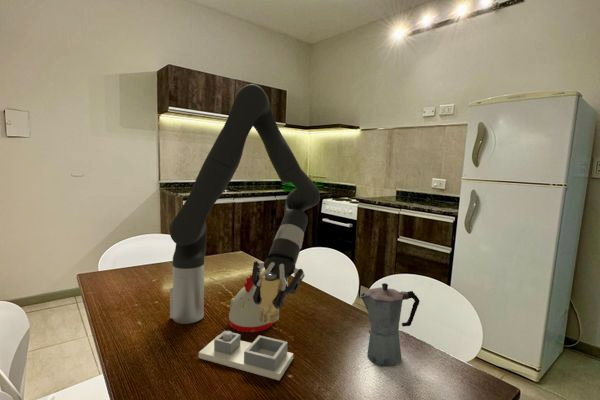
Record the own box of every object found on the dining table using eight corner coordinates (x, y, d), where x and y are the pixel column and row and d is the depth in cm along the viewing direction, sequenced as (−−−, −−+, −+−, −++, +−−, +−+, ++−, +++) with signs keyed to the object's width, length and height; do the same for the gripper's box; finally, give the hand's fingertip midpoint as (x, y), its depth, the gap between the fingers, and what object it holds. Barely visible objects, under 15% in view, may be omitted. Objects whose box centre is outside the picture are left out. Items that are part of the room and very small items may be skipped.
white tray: (198, 357, 82) (198, 337, 81) (218, 340, 91) (219, 321, 90) (279, 380, 75) (280, 358, 74) (293, 358, 83) (293, 338, 83)
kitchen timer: (219, 326, 98) (220, 278, 97) (243, 307, 111) (244, 265, 109) (260, 336, 93) (262, 286, 92) (280, 316, 106) (282, 271, 104)
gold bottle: (255, 320, 79) (257, 275, 77) (264, 312, 83) (265, 269, 82) (273, 324, 77) (276, 279, 76) (281, 316, 82) (283, 272, 80)
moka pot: (352, 346, 90) (356, 276, 88) (405, 346, 92) (411, 277, 89) (361, 368, 81) (366, 290, 78) (421, 367, 82) (428, 291, 80)
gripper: (259, 233, 87) (234, 293, 77) (310, 240, 83) (291, 304, 73) (266, 248, 93) (244, 305, 83) (314, 255, 88) (297, 317, 78)
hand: (266, 305), depth 78 cm, fingers closed on gold bottle, 4 cm apart
